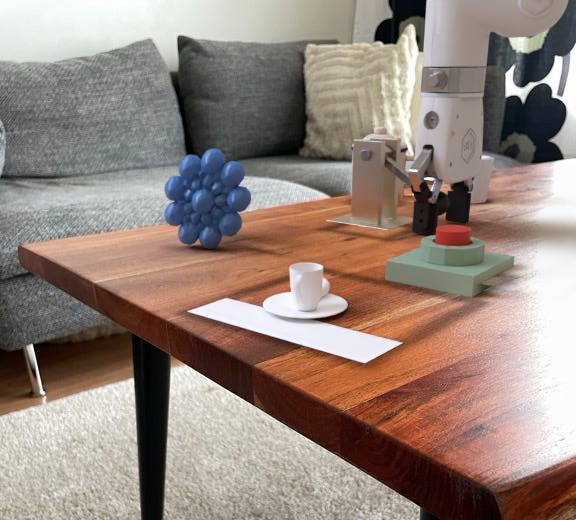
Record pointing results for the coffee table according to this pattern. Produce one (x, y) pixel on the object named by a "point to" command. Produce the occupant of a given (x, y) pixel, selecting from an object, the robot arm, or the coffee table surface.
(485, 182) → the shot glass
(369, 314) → the coffee table surface
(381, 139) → the switch bracket
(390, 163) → the switch lever
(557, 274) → the coffee table surface
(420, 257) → the green button base
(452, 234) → the button
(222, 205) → the blue beaded flower wheel
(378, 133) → the teacup with lid
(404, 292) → the coffee table surface
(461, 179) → the robot arm
